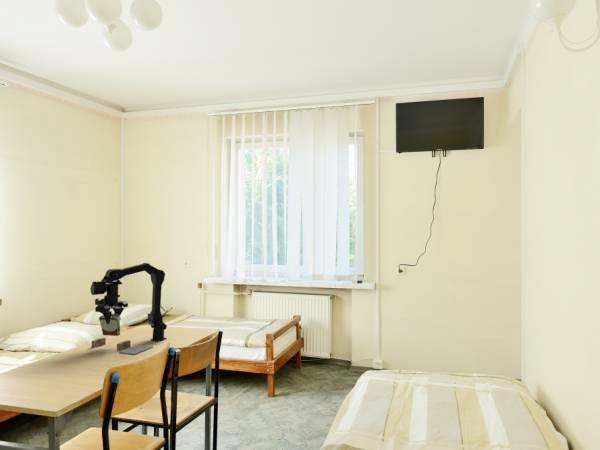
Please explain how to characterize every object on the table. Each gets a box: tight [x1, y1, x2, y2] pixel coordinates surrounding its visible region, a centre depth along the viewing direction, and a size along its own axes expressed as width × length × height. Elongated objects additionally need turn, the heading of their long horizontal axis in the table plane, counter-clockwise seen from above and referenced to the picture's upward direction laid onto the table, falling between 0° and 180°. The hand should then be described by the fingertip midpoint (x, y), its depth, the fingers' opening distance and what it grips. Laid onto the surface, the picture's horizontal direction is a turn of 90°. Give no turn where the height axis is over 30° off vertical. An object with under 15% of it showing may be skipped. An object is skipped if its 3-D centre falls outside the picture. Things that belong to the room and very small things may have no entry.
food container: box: [98, 313, 122, 337], centre depth 240 cm, size 12×6×10 cm, turn 73°
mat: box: [119, 344, 154, 356], centre depth 234 cm, size 15×9×1 cm, turn 162°
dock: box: [91, 337, 132, 352], centre depth 239 cm, size 8×18×4 cm, turn 72°
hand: (111, 322), depth 239 cm, fingers closed on food container, 6 cm apart
